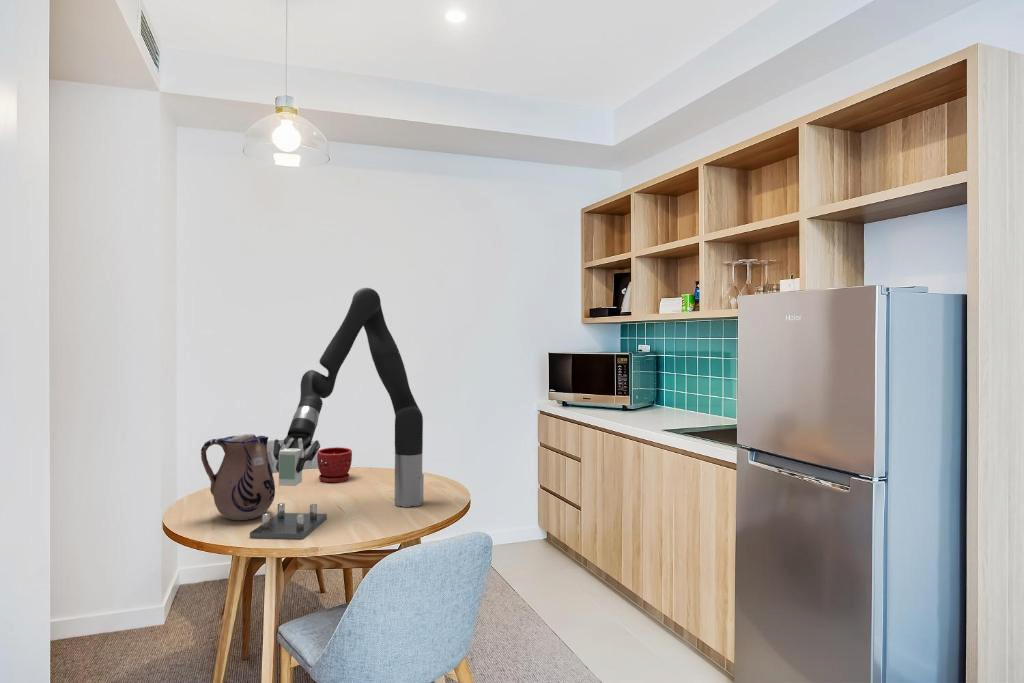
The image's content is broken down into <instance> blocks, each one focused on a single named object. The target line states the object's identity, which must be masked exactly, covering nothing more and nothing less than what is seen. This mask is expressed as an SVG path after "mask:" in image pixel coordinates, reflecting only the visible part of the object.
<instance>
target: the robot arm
mask: <svg viewBox="0 0 1024 683" xmlns="http://www.w3.org/2000/svg"><path fill="white" fill-rule="evenodd" d="M344 317H345V318H343V322H341V325H340V327H339V328H338V330H337V331H336V332H335V334H334V336H333V338H332V339H331V340H330V342H329V343H328V345H327V347H326V349H325V350H324V352H323V354H322V355H321V356H320V358H319V360H318V361H319V364H320V366H322V367H323V368H325V369H326V371H327V372H328V374H327V375H324V374H323V373H320V372H319V371H317V370H314V369H309V370H307V371H306V372H305V373H303V375H302V377H301V381H300V399H299V403H298V405H297V408H296V411H295V412H294V415H293V417H292V419H291V422H290V425H289V428H288V431H287V435H286V437H285V438H284V439H283V440H282V439H281V440H279V439H275V440H274V441H273V453H272V454H273V457H274V459H275V461H277V462H276V464H275V469H276V471H277V473H279V451H281V449H282V450H283V449H288V448H298V449H301V454H300V459H299V460H298V463H297V466H296V471H297V473H300V471H302V472H303V470H304V467H305V463H306V462H308V461H309V462H311V461H313V460H314V458H315V456H316V455H317V452H318V451H319V450H320V448H321V444H320V441H319V440H317V439H316V440H313V438H314V435H315V433H316V429H317V426H318V423H319V417H320V415H321V410H322V408H323V403H324V402H323V399H326V398H328V397H330V396H331V395H332V393H333V391H334V389H335V385H336V384H335V383H336V380H337V376H338V374H339V371H340V369H341V367H342V365H343V364H344V362H345V360H346V358H347V357H348V355H349V354H350V351H351V349H352V348H353V345H354V343H355V341H356V339H357V337H358V335H359V333H360V332H361V330H362V329H364V331H365V333H366V338H367V342H368V347H369V352H370V355H371V359H372V361H373V364H374V367H375V370H376V372H377V375H378V377H379V380H380V381H381V383H382V385H383V387H384V388H385V390H386V392H387V393H388V395H389V399H390V400H391V404H392V407H393V412H394V497H393V499H394V505H395V506H396V505H397V506H396V507H400V506H402V507H401V508H411V506H414V507H421V506H422V504H423V503H424V484H425V483H424V478H425V477H424V473H423V447H424V446H423V444H424V443H423V441H424V440H423V436H424V432H423V430H424V418H423V417H424V416H423V414H422V411H421V409H420V407H419V406H418V404H417V402H416V399H415V397H414V395H413V393H412V390H411V389H410V384H409V379H408V375H407V371H406V368H405V364H404V361H403V359H402V355H401V352H400V351H399V350H400V349H399V348H398V345H397V343H396V341H395V339H394V337H393V335H392V333H391V332H390V329H389V327H388V326H387V323H386V320H385V316H384V313H383V309H382V304H381V298H380V295H379V293H378V292H377V291H376V290H375V289H373V288H371V287H362V288H360V289H358V290H356V291H355V292H354V295H353V296H352V301H351V304H350V306H349V308H348V311H347V314H346V315H345V316H344ZM308 448H309V450H308V451H307V452H306V450H307V449H308ZM422 502H423V503H422ZM420 505H421V506H420Z"/></svg>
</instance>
